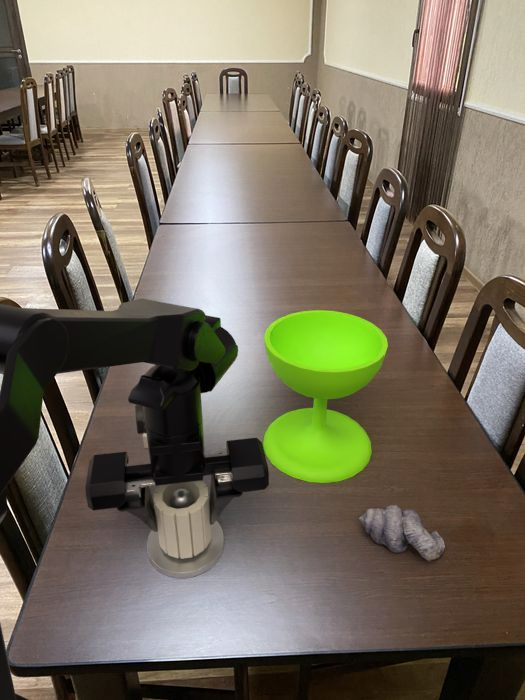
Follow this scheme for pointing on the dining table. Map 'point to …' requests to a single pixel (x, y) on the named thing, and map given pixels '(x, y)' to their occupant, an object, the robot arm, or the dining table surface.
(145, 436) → the cream cube
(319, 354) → the wineglass
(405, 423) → the dining table surface
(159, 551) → the stand
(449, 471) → the dining table surface
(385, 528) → the seashell
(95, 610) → the dining table surface
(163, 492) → the beige fluted tube
